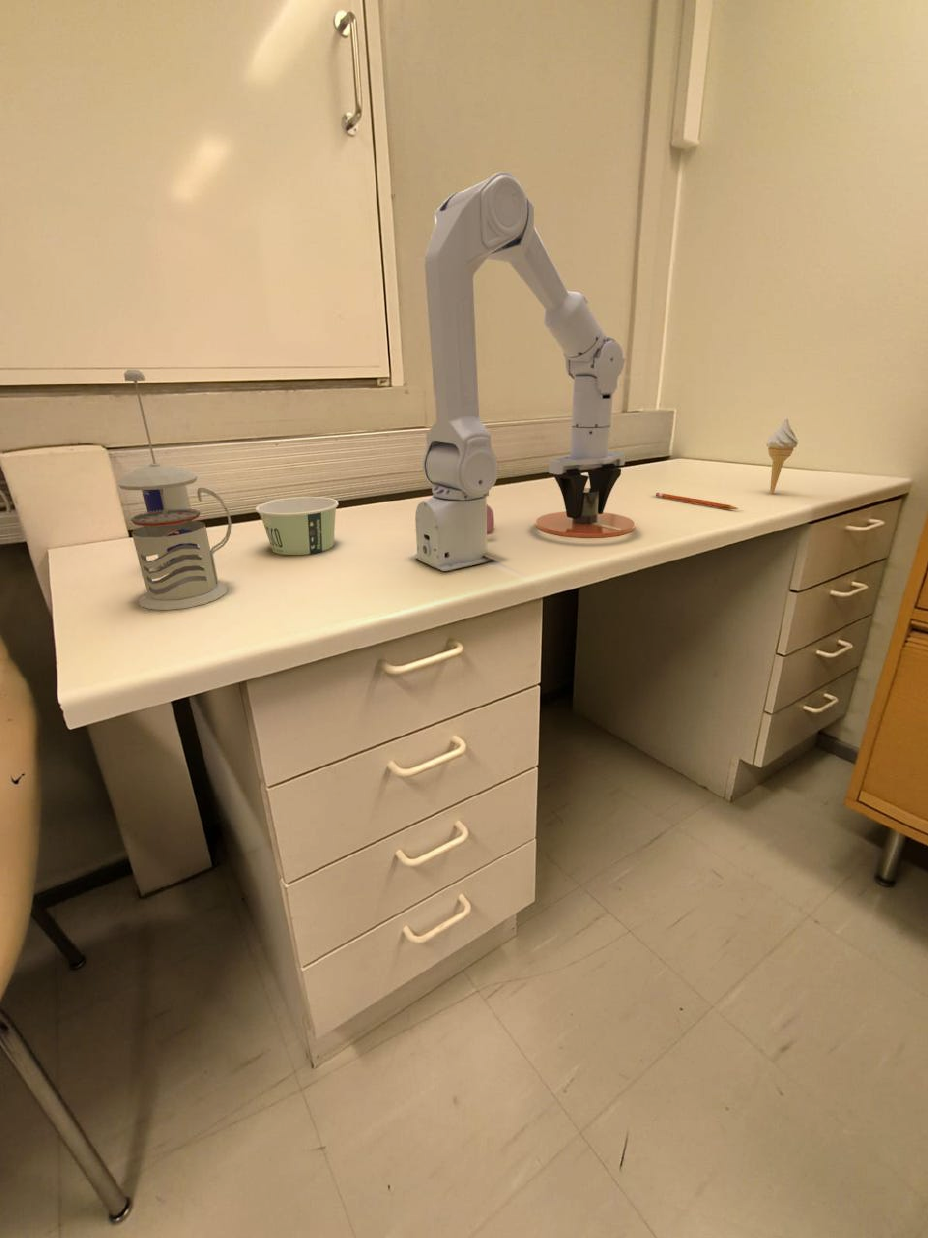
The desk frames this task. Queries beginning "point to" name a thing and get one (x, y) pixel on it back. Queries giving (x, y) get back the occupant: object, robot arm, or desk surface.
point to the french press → (172, 538)
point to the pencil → (696, 501)
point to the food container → (299, 524)
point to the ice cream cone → (780, 450)
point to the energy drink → (172, 500)
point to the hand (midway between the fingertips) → (585, 515)
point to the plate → (584, 530)
